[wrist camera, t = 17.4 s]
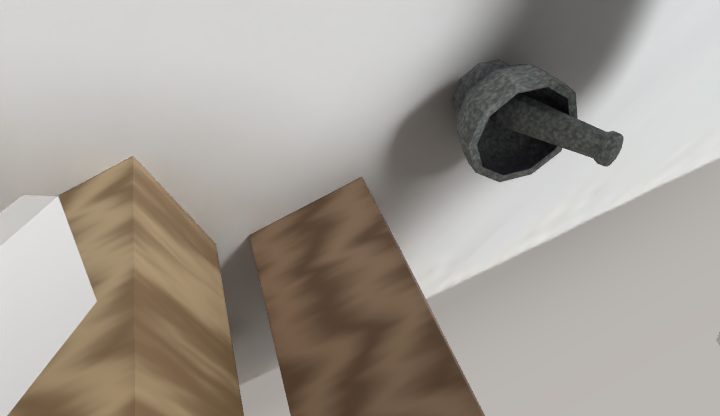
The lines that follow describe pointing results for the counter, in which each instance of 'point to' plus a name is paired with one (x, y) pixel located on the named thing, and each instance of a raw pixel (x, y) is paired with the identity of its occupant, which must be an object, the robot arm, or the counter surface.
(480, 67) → the mortar and pestle
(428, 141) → the counter surface
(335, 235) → the walnut post
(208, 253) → the oak step
